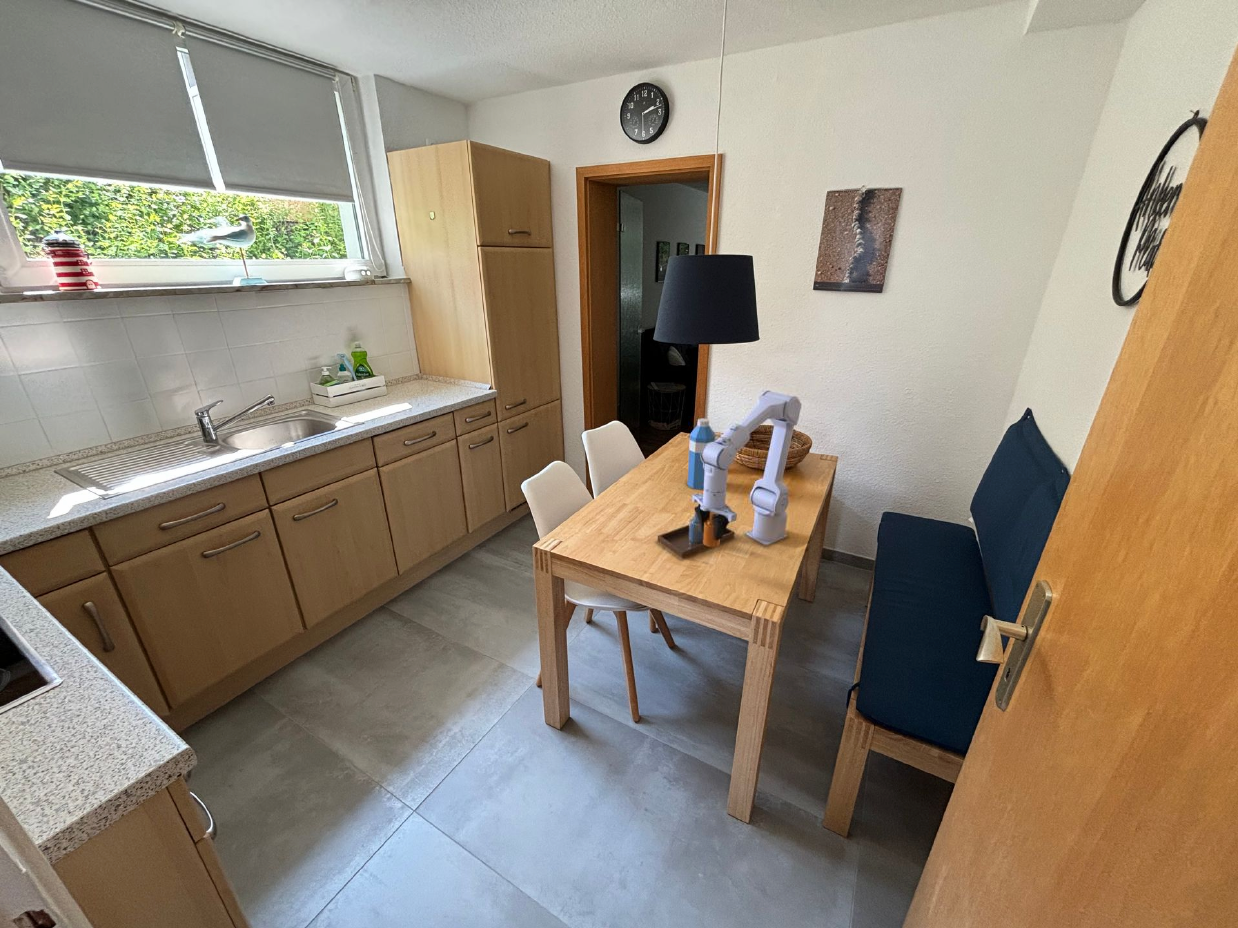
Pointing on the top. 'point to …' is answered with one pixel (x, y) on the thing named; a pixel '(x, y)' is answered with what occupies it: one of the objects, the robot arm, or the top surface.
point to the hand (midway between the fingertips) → (711, 534)
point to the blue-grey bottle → (695, 530)
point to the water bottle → (698, 452)
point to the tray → (686, 541)
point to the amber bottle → (710, 532)
